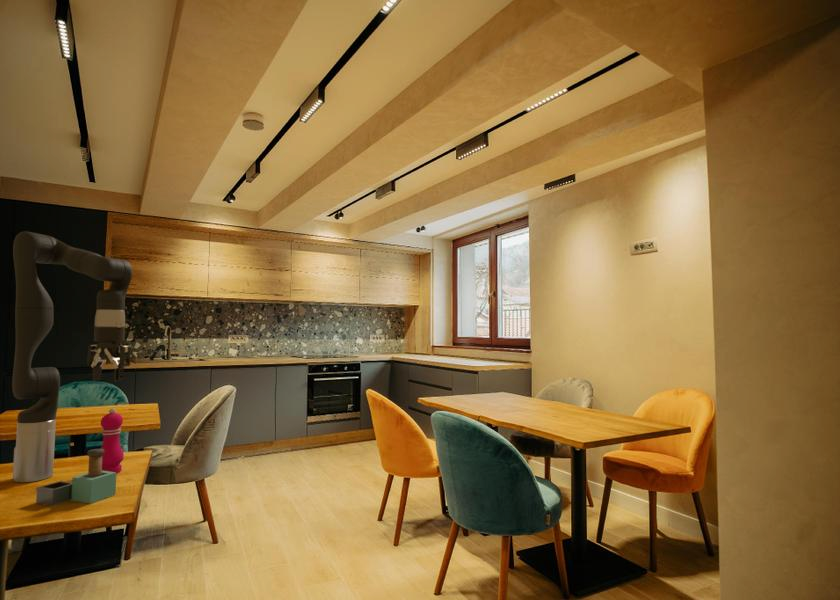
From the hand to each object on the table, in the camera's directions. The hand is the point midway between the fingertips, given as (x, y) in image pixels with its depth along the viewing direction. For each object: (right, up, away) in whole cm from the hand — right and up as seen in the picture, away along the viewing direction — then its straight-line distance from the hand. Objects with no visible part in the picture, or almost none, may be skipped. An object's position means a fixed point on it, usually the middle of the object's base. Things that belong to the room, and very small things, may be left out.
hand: (107, 380), depth 140 cm
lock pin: (+4, -30, -12) cm, 32 cm away
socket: (+4, -30, -12) cm, 32 cm away
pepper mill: (-6, -31, +11) cm, 33 cm away
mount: (-4, -29, -14) cm, 33 cm away
